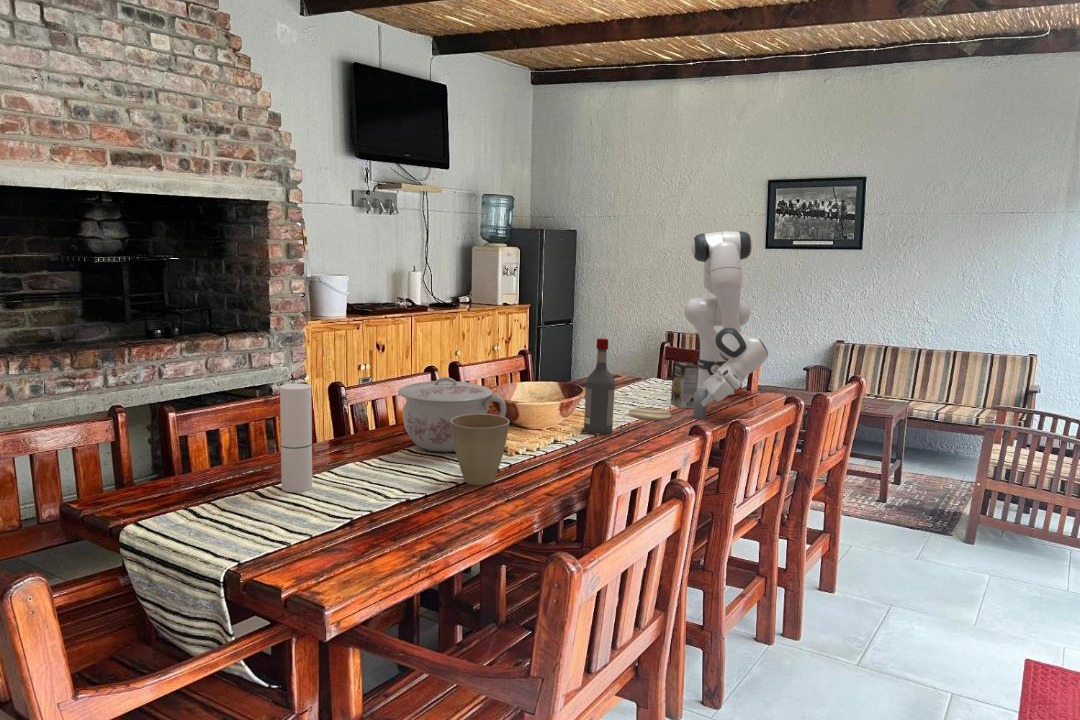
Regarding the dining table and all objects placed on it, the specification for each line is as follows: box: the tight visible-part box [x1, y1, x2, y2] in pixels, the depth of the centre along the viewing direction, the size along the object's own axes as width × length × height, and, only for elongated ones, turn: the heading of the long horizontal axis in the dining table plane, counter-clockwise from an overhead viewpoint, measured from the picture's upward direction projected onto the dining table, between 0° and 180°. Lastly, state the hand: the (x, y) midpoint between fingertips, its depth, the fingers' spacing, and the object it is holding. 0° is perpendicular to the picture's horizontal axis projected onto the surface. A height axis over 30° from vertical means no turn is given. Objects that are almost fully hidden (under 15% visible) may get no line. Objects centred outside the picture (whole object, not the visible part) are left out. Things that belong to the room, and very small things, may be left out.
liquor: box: [583, 337, 616, 435], centre depth 259 cm, size 9×9×30 cm
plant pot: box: [450, 413, 510, 486], centre depth 203 cm, size 15×15×16 cm
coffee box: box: [670, 361, 699, 409], centre depth 303 cm, size 9×6×16 cm
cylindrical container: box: [279, 383, 313, 493], centre depth 193 cm, size 7×7×25 cm
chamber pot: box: [397, 376, 507, 453], centre depth 234 cm, size 28×28×21 cm
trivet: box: [628, 407, 673, 421], centre depth 285 cm, size 15×15×1 cm
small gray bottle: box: [692, 387, 708, 420], centre depth 284 cm, size 5×5×11 cm
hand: (699, 401), depth 284 cm, fingers open, 8 cm apart
